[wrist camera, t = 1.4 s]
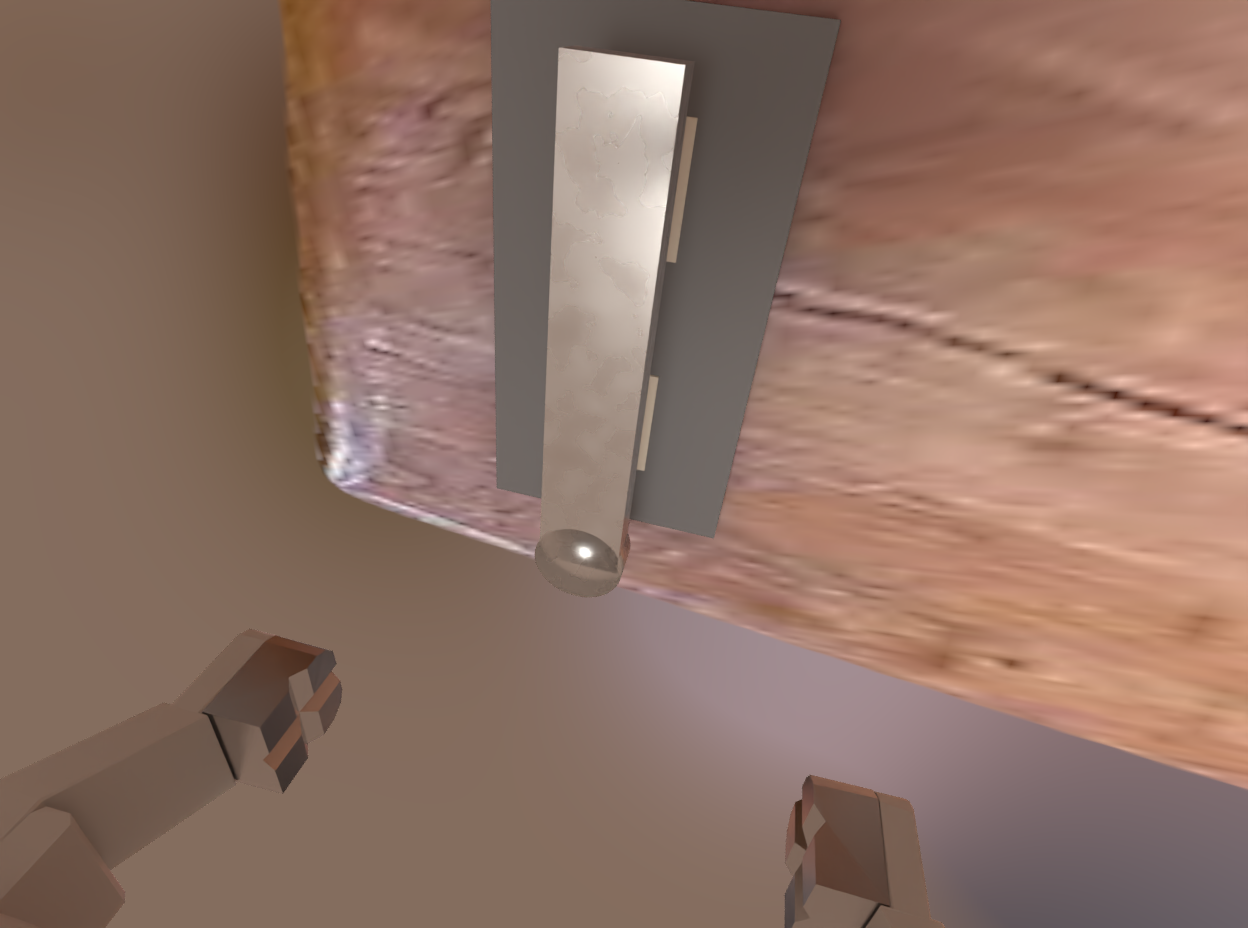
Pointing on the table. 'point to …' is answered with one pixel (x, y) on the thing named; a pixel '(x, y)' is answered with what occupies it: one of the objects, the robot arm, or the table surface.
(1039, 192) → the table surface
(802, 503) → the table surface
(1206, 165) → the table surface
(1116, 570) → the table surface
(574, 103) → the grey flat bar
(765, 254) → the label board
